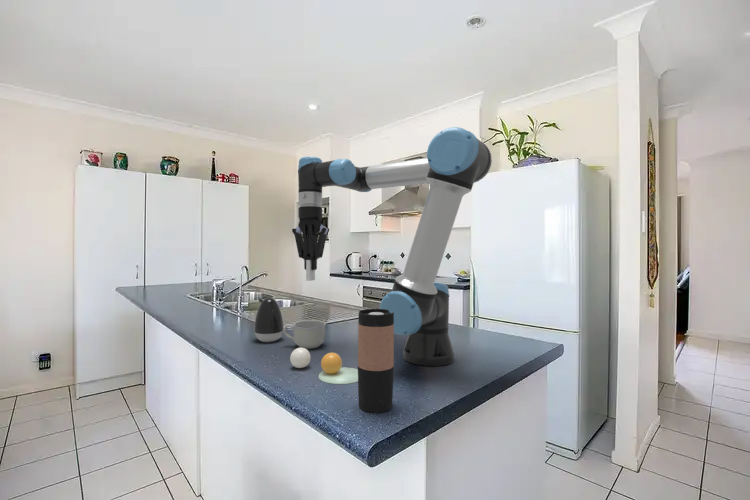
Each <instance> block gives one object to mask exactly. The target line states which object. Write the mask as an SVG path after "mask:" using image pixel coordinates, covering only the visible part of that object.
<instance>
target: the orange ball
mask: <svg viewBox="0 0 750 500" xmlns="http://www.w3.org/2000/svg"><path fill="white" fill-rule="evenodd" d="M342 365H343V360H342V358H341V356H340V354H338V353H337V352H327V353H326V354H325V355H323V356H322V359H321V361H320V366H321V369H322V371H324V372H326V373H327V374H335V373H337V372H338V371H339V370H340V369H341V367H343V366H342Z"/></svg>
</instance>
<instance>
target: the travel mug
mask: <svg viewBox="0 0 750 500" xmlns="http://www.w3.org/2000/svg"><path fill="white" fill-rule="evenodd" d="M357 328H358V329H357V331H358V332H357V333H358V334H357V342H358V343H357V369H358V382H357V389H358V392H357V393H358V395H357V397H358V407H359V409H360V410H362V411H364V412H366V413H370V414H371V413H372V414H378V413H379V412H381V413H385V411H386V412H388V411H390V410H391V408H393V400H394V399H393V397H394V396H393V395H394V394H393V393H394V375H395V374H394V372H395V361H394V360H395V359H394V358H395V351H394V350H395V341H394V340H395V337H394V335H395V333H394V312H393V313H390V312H389V310H386V309H380V308H368V309H367V308H366V309H361V310H359V311H358V327H357ZM389 409H390V410H389ZM387 410H388V411H387ZM379 414H380V413H379Z"/></svg>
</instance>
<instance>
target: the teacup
mask: <svg viewBox="0 0 750 500" xmlns="http://www.w3.org/2000/svg"><path fill="white" fill-rule="evenodd" d="M326 325H327V323H326V322H325V321H322V320H318V319H303V320H297V321H295V322H293V324H292V323H286V324H285V325H284V329H283V332H282V333H283V334H284V335H285V337H287V338H288V339H290V340H291V341H292V342H294V344H295V345H297V346H298V348H305V349H307V350H313V349H317V348H319V347H320V346H321V345H322V344H323V343H324V342H325V339H326ZM288 328H290V329H291V330H292V333H293V335H292V334H290V333H288V332H287V329H288Z"/></svg>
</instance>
